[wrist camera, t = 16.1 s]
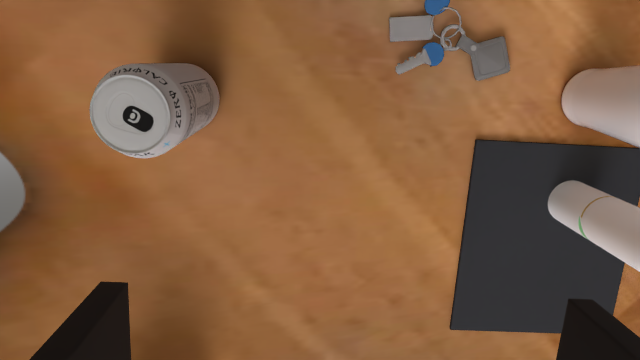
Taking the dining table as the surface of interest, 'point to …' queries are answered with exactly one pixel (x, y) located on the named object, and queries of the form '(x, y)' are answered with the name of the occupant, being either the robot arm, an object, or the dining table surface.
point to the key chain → (484, 55)
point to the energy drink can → (152, 106)
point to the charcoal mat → (534, 236)
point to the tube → (599, 219)
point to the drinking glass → (606, 101)
